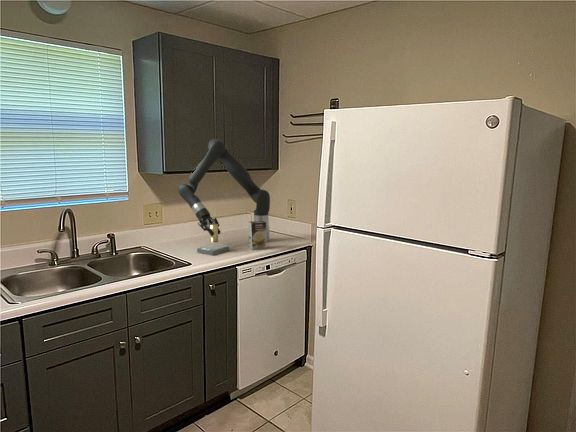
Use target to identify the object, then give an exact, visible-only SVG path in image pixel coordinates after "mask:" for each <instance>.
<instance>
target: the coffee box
mask: <svg viewBox="0 0 576 432" xmlns="http://www.w3.org/2000/svg"><path fill="white" fill-rule="evenodd" d="M248 248H249V249H250V250H251V251H253V250H254V251H255V250H266V249H267V242H266V222H264V221H254V220H253V221H252V220H251V221H248Z"/></svg>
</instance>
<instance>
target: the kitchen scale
mask: <svg viewBox="0 0 576 432" xmlns="http://www.w3.org/2000/svg"><path fill="white" fill-rule="evenodd" d="M196 251H197V252H196V253H197V254H202V255H206V256H207V255H208V256H216V255H220V254H222V253H226V252H230V246H229V245H225V244H220V243H216V242H215V243H210V244H207V245H203V246H200V247H197V249H196Z"/></svg>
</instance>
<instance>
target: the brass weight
mask: <svg viewBox="0 0 576 432" xmlns="http://www.w3.org/2000/svg"><path fill="white" fill-rule="evenodd" d="M218 228H219V227H218V224H210V229H212V231H213V232H214V235H213V236H211V235H210V234H209V243H211V244H214V243H215V244H216V243H218V242H219V234H218Z"/></svg>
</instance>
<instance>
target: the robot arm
mask: <svg viewBox="0 0 576 432" xmlns="http://www.w3.org/2000/svg"><path fill="white" fill-rule="evenodd" d="M207 147H208V151H207V152H206V155H205V156H204V157H203V159H202V160H201V161H200V162H199V163H198V164H197V165H198V166H197V165H196V166H197V167H196V166H195V167H196V170H195V171H194V172H193V173H192V172H191V173H190V174H189V176H188V178H187V180H188V183H182V184H179V186H178V189H177V191H178V194H179V196H180V197H181V198H182V199H183V200H184V202H186V203H187V204H188V206H189V208H191V210H192V212H193V214H194V215H195V217H196V219H197V220H198V223H197V225H198V226H199V227H200V228H201V229H202V230H203V231H204V232H205V231H207V232H208V233H209V236H210V235H211V236H213V235H214V232H213V231H212V229H210V224H218V235H220V234H221V232H222V231H221V230H220V228H219V226H220V223H219V221H218V219H217V217H214V218H213V217H212V216H211V213H210V212H209V210H208V209H207V206H206V205H205V204H204V203H203V202H202V201H201V199H200V198H199V196H197V195H195V193H196V191H197V188H198V186H199V183H201V181H202V179H204V177H205V175H206V174H207V172H208V171H209V170H210V168H211V167H212V166H213V165H214V163H215V162H216V161H217V160H219V161H220V162H221V164H222V165H223V166H224V167H225V169H226V170H227V172H228V173H229V174H230V176H231V177H232V178H233V179H234V180H235V182H237V183H238V184H239V186H240V187H242V188H243V189H244V190H245V191H246V193H247V194H248V196H249V197H250V198H251V200H252V201H253V202H254V203H256V204H255V205H256V207H255V209H254V210H253V221H264V222H266V243H267V242H269V241H270V225H269V222H270V221H269V217H270V216H269V212H270V209H271V208H270V207H271V196H270V193H269V191H268V190H266V189H262V188H260V187H259V186H258V185H257V184H256V183H255V182H254V181H253V179H252V177H251V173H249V172H248V170H247V168H246V167H245V166H244V165H243V164H242V163H241V162H240V161H239V160H237V158H235V157H234V156H233V155H232V154H231V153H230V152H229V150H228V149H227V148H226V146H225V143H224V142H223V141H221V140H220V139H218V138H211V139H210V140H209V141H208V144H207Z"/></svg>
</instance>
